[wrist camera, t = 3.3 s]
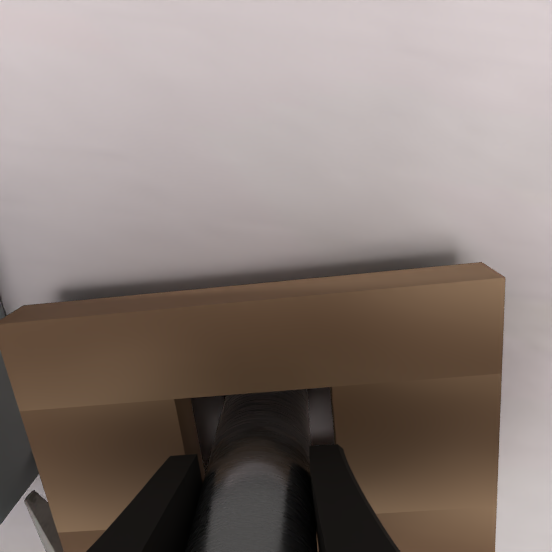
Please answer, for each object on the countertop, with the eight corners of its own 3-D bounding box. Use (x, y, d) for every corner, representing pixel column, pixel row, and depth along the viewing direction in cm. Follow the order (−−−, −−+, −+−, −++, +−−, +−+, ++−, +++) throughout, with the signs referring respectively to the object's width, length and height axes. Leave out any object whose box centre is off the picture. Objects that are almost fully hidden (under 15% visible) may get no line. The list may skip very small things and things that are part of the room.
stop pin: (315, 435, 13) (347, 846, 6) (229, 441, 14) (144, 847, 6) (307, 357, 13) (332, 704, 5) (216, 364, 13) (98, 711, 5)
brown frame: (459, 500, 14) (494, 576, 11) (112, 521, 15) (77, 596, 12) (461, 249, 12) (505, 277, 9) (50, 288, 12) (-8, 324, 10)
